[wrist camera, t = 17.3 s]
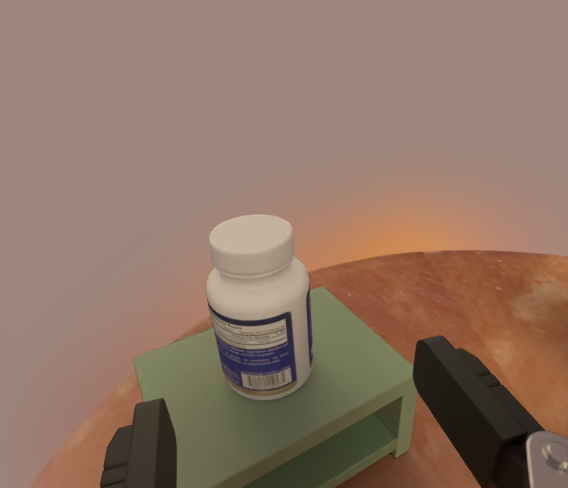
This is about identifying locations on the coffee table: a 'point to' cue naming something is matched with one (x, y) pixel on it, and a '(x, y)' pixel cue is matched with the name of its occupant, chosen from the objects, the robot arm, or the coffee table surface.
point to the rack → (286, 408)
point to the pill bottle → (260, 307)
